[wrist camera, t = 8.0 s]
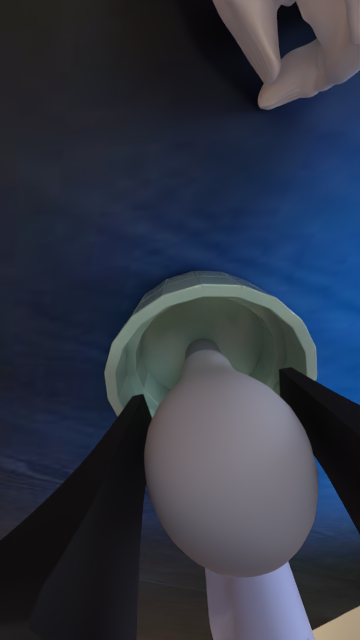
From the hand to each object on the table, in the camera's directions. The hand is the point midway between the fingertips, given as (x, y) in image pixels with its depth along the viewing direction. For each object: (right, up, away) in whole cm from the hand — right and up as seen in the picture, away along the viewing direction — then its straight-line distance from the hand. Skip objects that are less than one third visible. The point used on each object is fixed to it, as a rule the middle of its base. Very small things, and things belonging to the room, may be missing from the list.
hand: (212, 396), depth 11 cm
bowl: (0, +2, +5) cm, 6 cm away
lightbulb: (0, +2, +5) cm, 5 cm away
